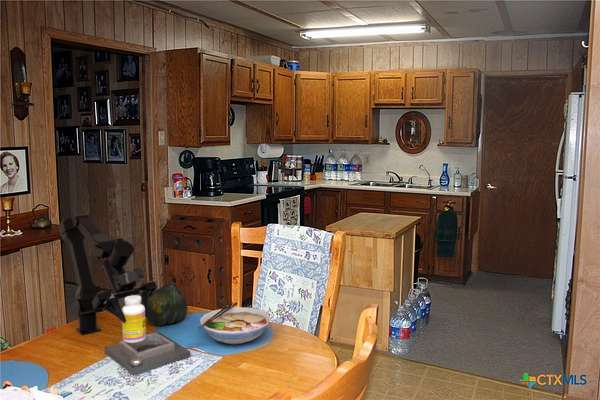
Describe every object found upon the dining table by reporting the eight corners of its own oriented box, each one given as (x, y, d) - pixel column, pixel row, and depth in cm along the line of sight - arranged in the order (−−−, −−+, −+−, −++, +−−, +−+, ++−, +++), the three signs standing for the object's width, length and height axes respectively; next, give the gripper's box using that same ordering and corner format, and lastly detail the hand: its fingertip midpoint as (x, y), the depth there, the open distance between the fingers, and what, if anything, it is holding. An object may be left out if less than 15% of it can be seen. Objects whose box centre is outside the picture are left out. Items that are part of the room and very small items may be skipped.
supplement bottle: (146, 342, 155) (144, 300, 153) (122, 345, 153) (120, 302, 152) (146, 333, 162) (144, 293, 160) (123, 336, 160) (121, 295, 158)
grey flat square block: (105, 353, 162) (104, 340, 162) (159, 338, 174) (158, 326, 174) (133, 375, 148) (132, 361, 147) (190, 357, 159) (190, 344, 159)
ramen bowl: (251, 360, 157) (251, 334, 156) (184, 349, 165) (184, 324, 164) (282, 331, 181) (282, 308, 180) (223, 323, 188) (222, 300, 187)
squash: (129, 310, 185) (152, 281, 181) (156, 299, 199) (179, 272, 194) (154, 340, 182) (179, 313, 177) (180, 327, 196) (203, 301, 191)
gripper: (94, 265, 151) (114, 312, 144) (153, 255, 164) (174, 297, 157) (84, 286, 157) (102, 332, 151) (141, 274, 170) (160, 316, 164)
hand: (136, 319), depth 156 cm, fingers closed on supplement bottle, 7 cm apart
